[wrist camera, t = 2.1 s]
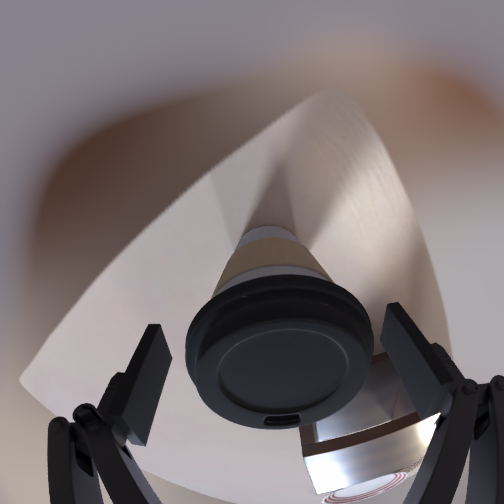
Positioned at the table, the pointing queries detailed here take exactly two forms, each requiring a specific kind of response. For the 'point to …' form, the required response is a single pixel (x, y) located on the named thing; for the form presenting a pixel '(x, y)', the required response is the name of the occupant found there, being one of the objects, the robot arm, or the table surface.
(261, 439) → the table surface
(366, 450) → the wooden cubby box
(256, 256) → the coffee cup
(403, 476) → the dinner plate
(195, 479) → the table surface
